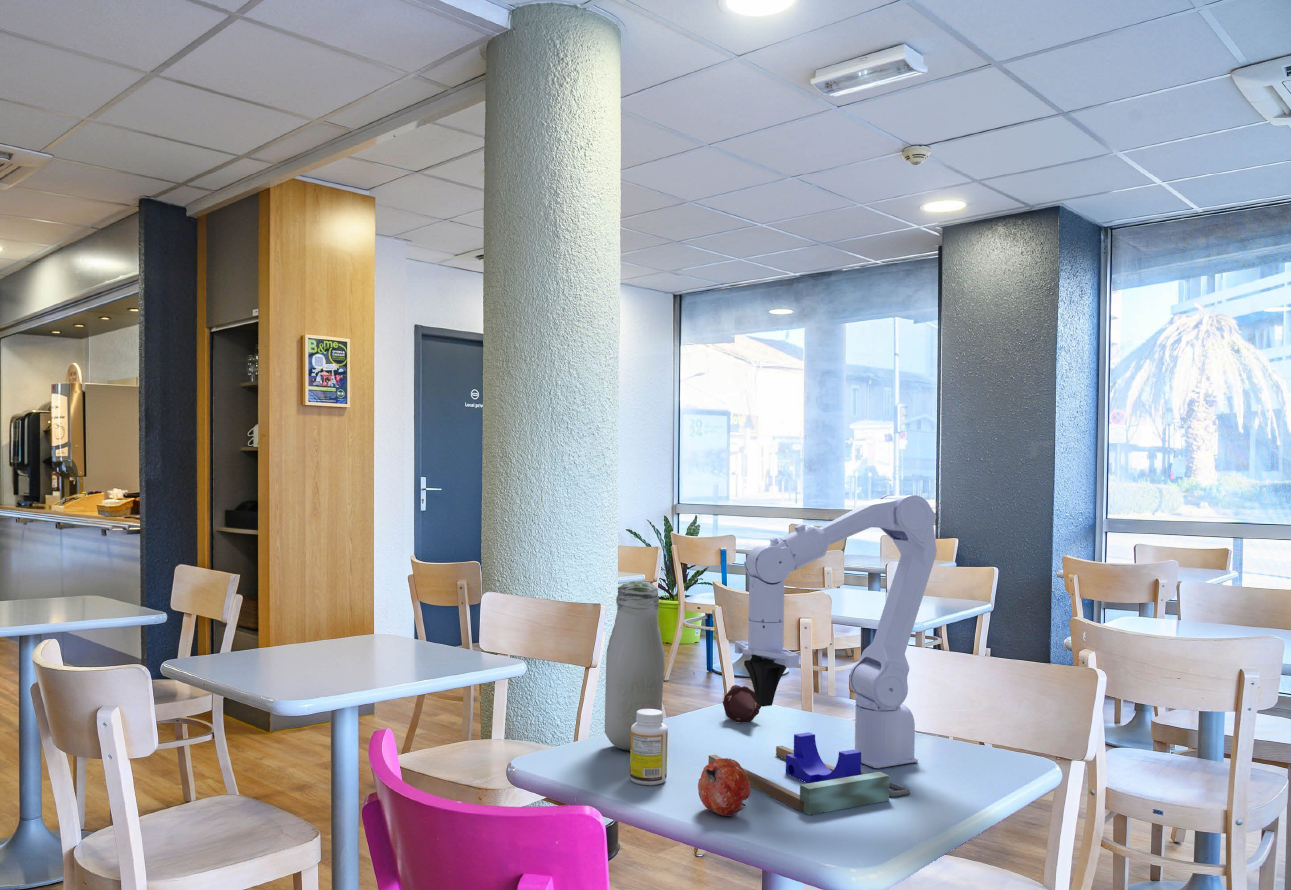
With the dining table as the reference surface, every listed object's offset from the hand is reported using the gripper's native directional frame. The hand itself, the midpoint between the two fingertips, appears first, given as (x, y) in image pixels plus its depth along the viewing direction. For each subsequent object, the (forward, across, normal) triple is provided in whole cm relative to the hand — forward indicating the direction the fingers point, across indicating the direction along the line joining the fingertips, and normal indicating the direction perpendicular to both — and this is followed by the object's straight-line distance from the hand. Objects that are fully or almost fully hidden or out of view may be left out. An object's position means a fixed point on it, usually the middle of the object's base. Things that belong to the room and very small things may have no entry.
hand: (764, 705), depth 148 cm
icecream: (+10, -24, +13) cm, 29 cm away
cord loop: (+9, +15, +9) cm, 20 cm away
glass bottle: (+10, -16, -15) cm, 24 cm away
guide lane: (+9, +9, -1) cm, 13 cm away
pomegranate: (+10, +16, -18) cm, 26 cm away
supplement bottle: (+10, 0, -21) cm, 23 cm away
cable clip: (+10, +11, +2) cm, 15 cm away
